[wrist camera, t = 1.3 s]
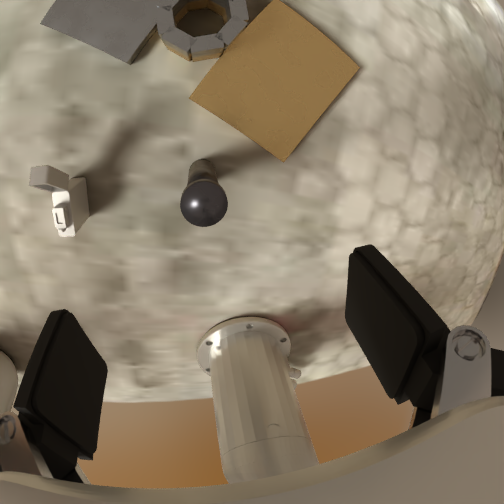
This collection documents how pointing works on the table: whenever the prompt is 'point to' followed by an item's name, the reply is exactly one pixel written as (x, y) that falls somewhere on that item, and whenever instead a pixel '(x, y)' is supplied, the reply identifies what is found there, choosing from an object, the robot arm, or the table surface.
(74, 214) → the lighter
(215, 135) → the table surface
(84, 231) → the table surface
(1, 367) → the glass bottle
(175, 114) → the table surface
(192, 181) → the dark round-topped peg
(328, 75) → the hinge
